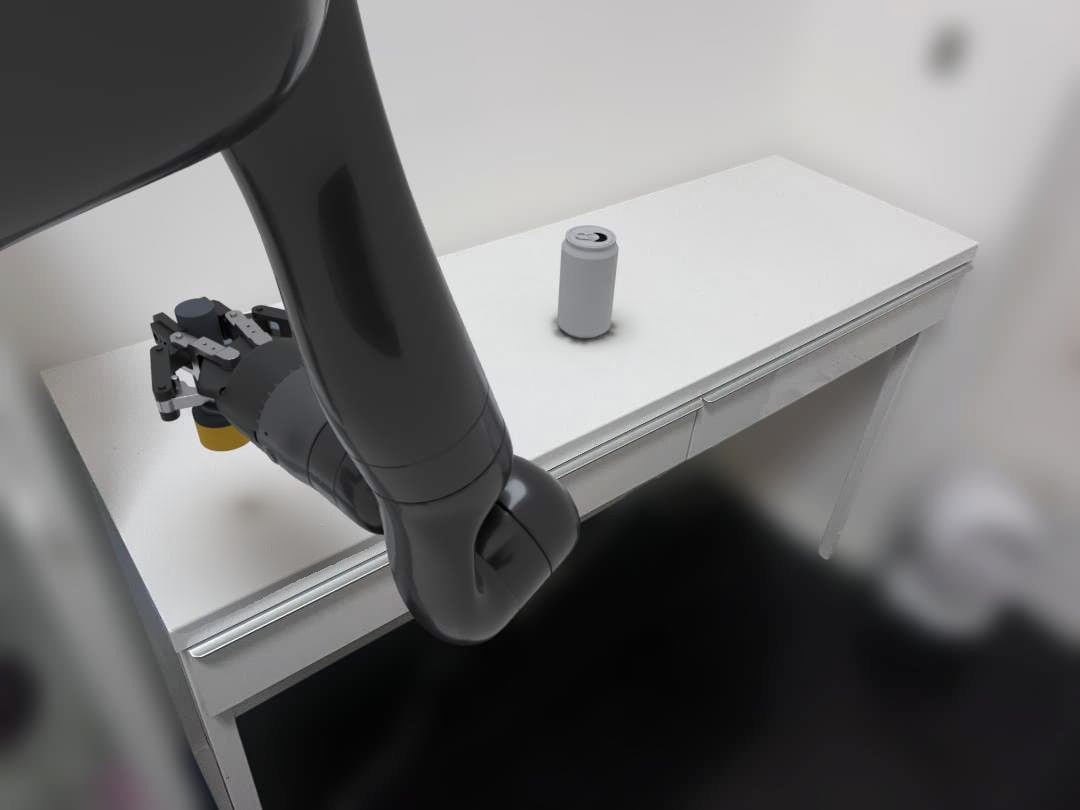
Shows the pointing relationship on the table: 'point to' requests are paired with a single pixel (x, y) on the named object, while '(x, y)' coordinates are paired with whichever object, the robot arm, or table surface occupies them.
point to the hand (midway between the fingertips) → (180, 316)
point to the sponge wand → (210, 425)
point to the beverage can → (587, 281)
